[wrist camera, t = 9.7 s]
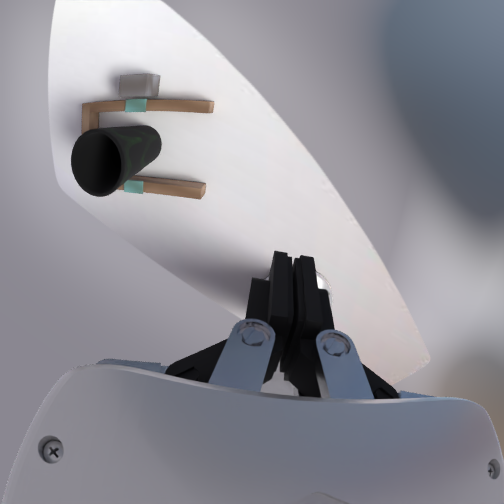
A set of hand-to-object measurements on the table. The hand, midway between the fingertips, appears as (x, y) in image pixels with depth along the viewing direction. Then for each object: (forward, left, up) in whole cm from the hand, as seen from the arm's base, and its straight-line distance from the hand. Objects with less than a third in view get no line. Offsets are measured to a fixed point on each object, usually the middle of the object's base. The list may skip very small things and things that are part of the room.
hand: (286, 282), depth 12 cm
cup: (0, +20, -27) cm, 34 cm away
